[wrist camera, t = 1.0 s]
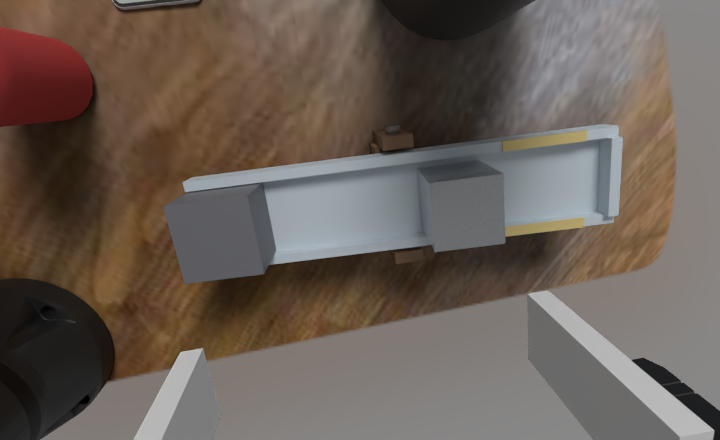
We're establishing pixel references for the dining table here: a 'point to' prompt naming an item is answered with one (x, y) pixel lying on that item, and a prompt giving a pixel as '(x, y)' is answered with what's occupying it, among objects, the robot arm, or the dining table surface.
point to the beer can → (40, 79)
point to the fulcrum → (390, 142)
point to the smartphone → (147, 3)
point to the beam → (384, 200)
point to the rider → (462, 205)
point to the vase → (451, 15)
